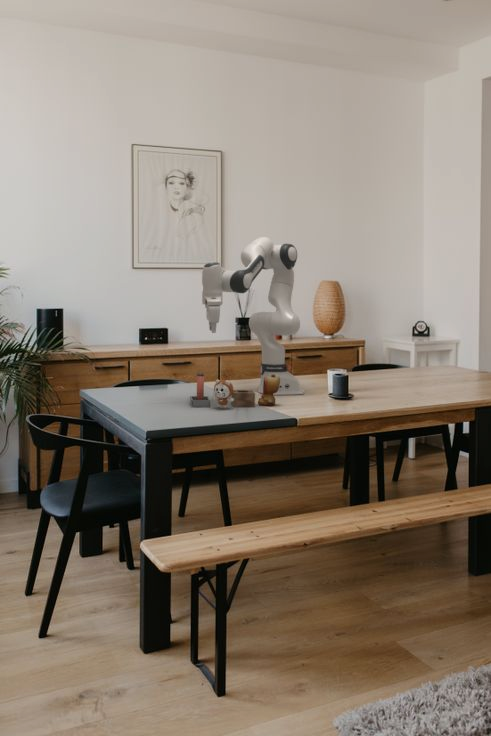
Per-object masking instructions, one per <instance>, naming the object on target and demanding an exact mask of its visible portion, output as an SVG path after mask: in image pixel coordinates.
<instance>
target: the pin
mask: <svg viewBox="0 0 491 736" xmlns="http://www.w3.org/2000/svg"><path fill="white" fill-rule="evenodd" d="M204 390H205V372H204V373H203V372H197V373H196V396H197V400H204V396H205V391H204Z"/></svg>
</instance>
